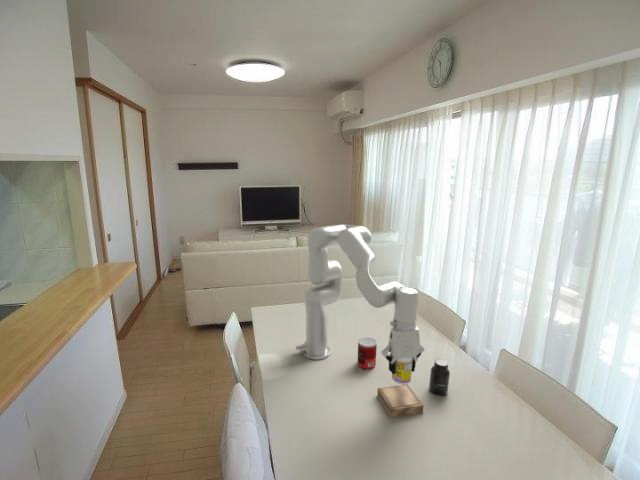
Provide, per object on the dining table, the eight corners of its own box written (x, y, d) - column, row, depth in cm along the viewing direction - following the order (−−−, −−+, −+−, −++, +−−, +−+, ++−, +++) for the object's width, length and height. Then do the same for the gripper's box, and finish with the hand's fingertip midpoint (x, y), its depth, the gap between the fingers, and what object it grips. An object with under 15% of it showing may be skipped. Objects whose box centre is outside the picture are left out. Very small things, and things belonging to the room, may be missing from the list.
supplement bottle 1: (388, 376, 125) (389, 343, 122) (403, 372, 127) (405, 340, 125) (399, 387, 119) (401, 353, 116) (414, 382, 121) (417, 349, 119)
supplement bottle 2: (438, 398, 129) (441, 369, 126) (425, 388, 134) (427, 360, 132) (451, 393, 132) (454, 364, 129) (438, 383, 138) (440, 355, 135)
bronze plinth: (390, 417, 118) (391, 409, 118) (377, 395, 130) (377, 387, 129) (422, 412, 121) (423, 404, 120) (407, 391, 132) (407, 383, 132)
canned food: (377, 362, 151) (378, 339, 149) (372, 372, 144) (373, 347, 142) (360, 358, 155) (361, 335, 152) (354, 367, 147) (355, 343, 145)
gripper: (385, 331, 113) (382, 380, 117) (433, 326, 117) (429, 373, 121) (376, 321, 120) (374, 367, 124) (422, 317, 124) (419, 362, 128)
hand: (401, 370), depth 122 cm, fingers closed on supplement bottle 1, 6 cm apart
